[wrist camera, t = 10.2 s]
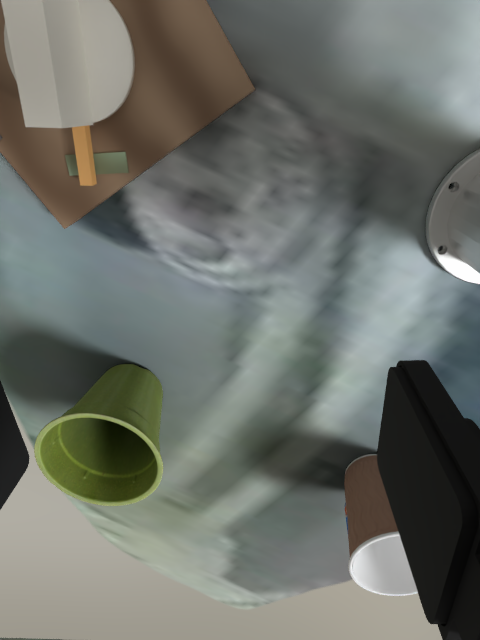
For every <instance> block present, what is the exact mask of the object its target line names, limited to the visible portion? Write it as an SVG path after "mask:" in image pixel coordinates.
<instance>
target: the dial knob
mask: <svg viewBox="0 0 480 640" xmlns="http://www.w3.org/2000/svg"><path fill="white" fill-rule="evenodd" d="M1 3H2V8H3V13H4V18H5V28H4V43H5V50H6V55H7V59H8V63H9V66H10V68H11V71H12V73H13V75H14V77H15V80H16V81H17V85H18V91H19V96H20V101H21V106H22V111H23V117H24V122H25V127H39V128H69V127H72V132H73V139H74V146H75V153H76V159H77V166H78V173H79V180H80V185H82V186H93V185H95V184H97V181H96V173H95V165H94V158H93V150H92V142H91V134H90V126H89V125H93V123H95V122H99V121H102V120H104V119H106V118H108V117H110V116H111V115H113V114H114V113H115V112H116V111H117V110H118V109H119V108H120V107H121V106H122V105H123V103H124V102H125V100H126V98H127V96H128V94H129V92H130V90H131V87H132V83H133V79H134V71H135V56H134V48H133V44H132V40H131V36H130V34H129V31H128V28H127V26H126V24H125V22H124V20H123V18H122V16H121V15H120V13H119V12H118V10H117V9H116V8H115V6H114V5H113V4H112V3H111V2H110V0H1Z"/></svg>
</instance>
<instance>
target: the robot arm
mask: <svg viewBox="0 0 480 640" xmlns="http://www.w3.org/2000/svg"><path fill="white" fill-rule="evenodd" d="M451 183H452V187H451V188H448V187H449V185H450V184H451ZM426 238H427V244H428V246H429V249H430V251H431V254H432V255H433V257H434V258H435V260H436V261H437V263H438V264H439V265H440V266H441V267H442V268H443V269H444V270H445V271H447V272H448V273H450V274H451V275H453V276H454V277H456V278H458V279H461V280H463V281H465V282H470V283H475V284H480V149H478V150H477V151H475V152H473V153H471V154H470V155H468V156H467V157H466V158H464V159H463V160H462V161H461V162H459V163H458V164H457V165H456V166H455V167H454V168H453V169H452V170H451V171H450V172H449V173H448V174H447V175H446V177H445V178H444V179H443V181H442V182H441V184H440V185H439V187H438V188H437V190H436V191H435V194H434V196H433V198H432V200H431V203H430V205H429V209H428V213H427V217H426ZM440 246H441V248H440V249H438V248H439V247H440ZM28 464H29V454H28V451H27V448H26V446H25V443H24V441H23V438H22V436H21V433H20V430H19V428H18V425H17V423H16V420H15V417H14V415H13V412H12V410H11V407H10V404H9V402H8V399H7V397H6V394H5V392H4V389H3V386H2V384H1V381H0V509H1V508H2V506H3V505H4V503H5V502H6V500H7V499H8V497H9V495H10V494H11V493H12V491H13V489H14V488H15V486H16V485H17V483H18V482H19V480H20V479H21V477H22V476H23V474H24V473H25V471H26V469H27V467H28ZM377 464H378V469H379V472H380V476H381V479H382V482H383V485H384V488H385V491H386V494H387V497H388V501H389V504H390V507H391V510H392V513H393V516H394V519H395V522H396V525H397V529H398V532H399V535H400V538H401V541H402V544H403V547H404V550H405V554H406V557H407V560H408V563H409V566H410V569H411V572H412V575H413V579H414V582H415V585H416V588H417V591H418V594H419V597H420V600H421V603H422V607H423V609H424V613H425V615H426V618H427V620H428V622H429V623H430V624H438V627H439V630H440V633H441V636H442V639H443V640H480V429H479V428H478V426H477V425H476V424H475V423H474V422H473V421H472V420H470V419H468V418H463V416H462V415H461V413H460V411H459V410H458V408H457V407H456V405H455V404H454V402H453V401H452V399H451V398H450V396H449V394H448V393H447V391H446V390H445V388H444V387H443V385H442V384H441V382H440V381H439V379H438V377H437V376H436V374H435V373H434V371H433V370H432V368H431V367H430V365H429V364H428V362H427V361H425V360H414V361H399V362H398V363H397V366H396V367H390V369H389V371H388V378H387V385H386V392H385V399H384V407H383V414H382V421H381V428H380V436H379V443H378V450H377ZM0 640H60V639H25V638H24V639H23V638H0Z"/></svg>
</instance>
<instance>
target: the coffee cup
mask: <svg viewBox="0 0 480 640" xmlns="http://www.w3.org/2000/svg"><path fill="white" fill-rule="evenodd" d="M344 485H345V498H346V503H345V513H346V522H347V530H348V538H349V551H350V559H349V564H348V569H349V573H350V575H351V577H352V579H353V580H354V581H355V582H356V583H357V584H358V585H359V586H361V587H362V588H364V589H366V590H368V591H370V592H373V593H377V594H382V595H389V596H403V595H411V594H416V593H418V591H417V588H416V585H415V582H414V579H413V575H412V572H411V569H410V566H409V563H408V560H407V557H406V554H405V550H404V547H403V544H402V541H401V538H400V535H399V532H398V529H397V525H396V522H395V519H394V516H393V513H392V510H391V507H390V504H389V501H388V497H387V494H386V491H385V488H384V485H383V482H382V479H381V476H380V472H379V469H378V464H377V454H368V455H364V456H361V457H359V458H357V459H355V460H354V461H352V462H351V463H350V464H349V465H348V467H347V469H346V471H345V481H344ZM352 568H353V569H352Z"/></svg>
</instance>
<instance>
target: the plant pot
mask: <svg viewBox="0 0 480 640" xmlns="http://www.w3.org/2000/svg"><path fill="white" fill-rule="evenodd" d="M162 398H163V390H162V386H161V383H160V382H159V380H158V379H157V377H156V376H155V375H154V374H153V373H152V372H150V371H149V370H147V369H143V368H140V367H138V366H136V365H134V364H121V365H117V366H114V367H112V368H110V369H109V370H108V371H106V372H105V373H104V374H103V375H102V376H101V378H100V379H99V380H98V381H97V382H96V383H95V384H94V385H93V386H92V387H91V388H90V390H89V391H88V392H87V393H86V394H85V395H84V396H83V397H82V398H81V399H80V400H79V401H78V402H77V404H76V405H75V406H74V407H73V408H71V409H70V410H68V411H67V412H66V413H64V414H63V415H62V416H61V417H59V418H57V419H55V420H53V421H51V422H50V423H48V424H47V425H46V426H45V427H44V428H43V429H42V430H41V431H40V433H39V435H38V436H37V439H36V442H35V448H34V453H35V458H36V461H37V464H38V466H39V468H40V470H41V471H42V473H43V474H44V476H45V477H46V478H47V479H48V480H49V481H50V482H51V483H52V484H54V485H55V486H56V487H57V488H59V489H60V490H61V491H63V492H64V493H66V494H68V495H70V496H72V497H74V498H77V499H79V500H81V501H85V502H88V503H93V504H97V505H103V506H119V505H128V504H132V503H135V502H138V501H140V500H142V499H144V498H146V497H147V496H149V495H150V494H151V493H153V492H154V491H155V489H156V488H157V487H158V485H159V483H160V481H161V479H162V474H163V463H162V459H161V455H160V445H159V430H160V419H161V409H162Z"/></svg>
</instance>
